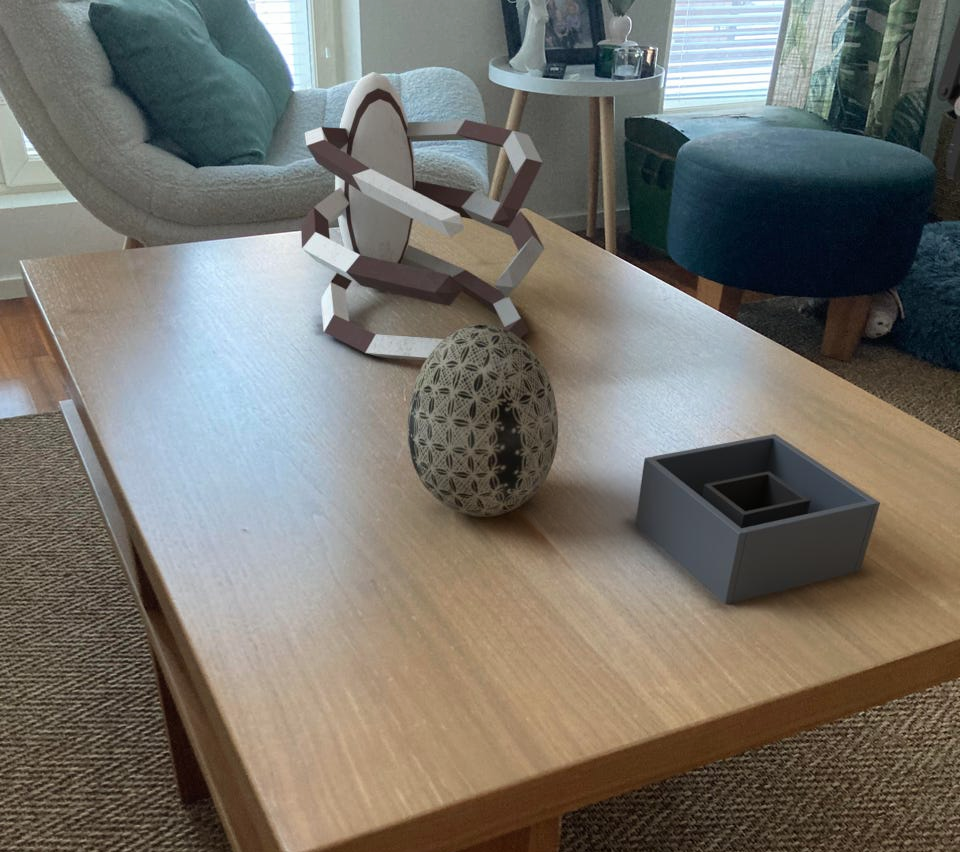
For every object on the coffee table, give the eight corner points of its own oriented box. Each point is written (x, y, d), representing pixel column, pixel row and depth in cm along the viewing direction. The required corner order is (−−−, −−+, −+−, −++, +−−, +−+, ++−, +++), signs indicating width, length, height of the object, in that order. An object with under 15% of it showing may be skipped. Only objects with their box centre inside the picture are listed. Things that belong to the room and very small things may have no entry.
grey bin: (759, 505, 86) (774, 433, 82) (858, 579, 77) (880, 502, 73) (634, 532, 82) (644, 457, 78) (723, 613, 73) (739, 533, 69)
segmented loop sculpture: (461, 264, 136) (589, 377, 112) (263, 288, 127) (356, 416, 103) (468, 57, 121) (619, 137, 97) (242, 68, 111) (348, 159, 88)
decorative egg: (438, 556, 78) (439, 365, 69) (389, 487, 87) (384, 310, 78) (576, 530, 82) (594, 346, 73) (516, 467, 90) (525, 295, 81)
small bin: (756, 527, 82) (768, 470, 79) (796, 558, 78) (811, 500, 75) (693, 541, 80) (703, 484, 77) (731, 573, 76) (744, 514, 73)
